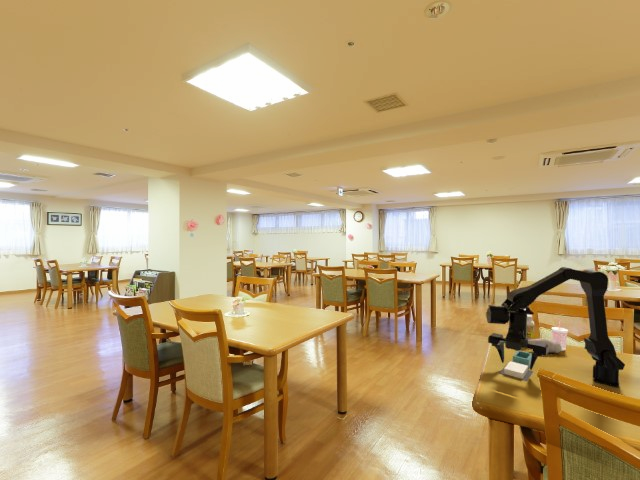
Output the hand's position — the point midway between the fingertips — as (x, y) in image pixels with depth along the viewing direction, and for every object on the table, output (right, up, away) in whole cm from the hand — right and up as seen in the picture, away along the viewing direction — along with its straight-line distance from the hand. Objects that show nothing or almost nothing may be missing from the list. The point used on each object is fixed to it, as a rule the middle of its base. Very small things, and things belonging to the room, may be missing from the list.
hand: (516, 366), depth 122 cm
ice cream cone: (+25, -3, +22) cm, 33 cm away
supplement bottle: (+26, -2, +35) cm, 43 cm away
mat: (0, -3, 0) cm, 3 cm away
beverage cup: (+35, -2, +26) cm, 44 cm away
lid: (0, -2, 0) cm, 2 cm away
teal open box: (+7, -3, +8) cm, 11 cm away
